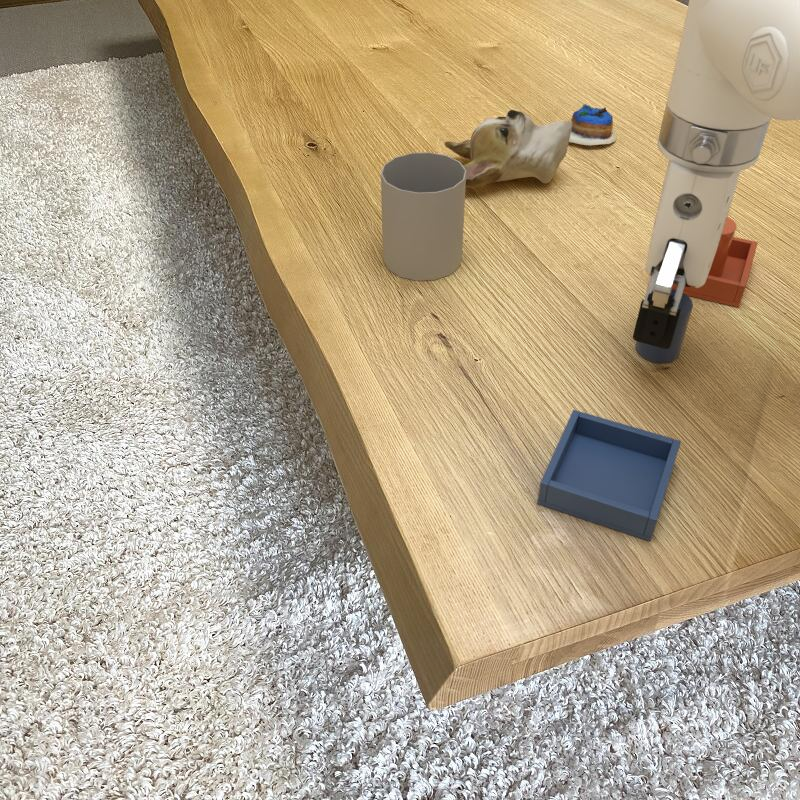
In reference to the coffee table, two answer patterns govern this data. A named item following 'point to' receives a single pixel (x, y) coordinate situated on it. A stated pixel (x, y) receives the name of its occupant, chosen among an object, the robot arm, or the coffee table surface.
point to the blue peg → (673, 352)
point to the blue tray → (609, 474)
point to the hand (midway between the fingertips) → (663, 311)
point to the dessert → (592, 126)
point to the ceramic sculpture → (513, 149)
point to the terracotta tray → (728, 276)
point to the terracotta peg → (723, 248)
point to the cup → (423, 215)
